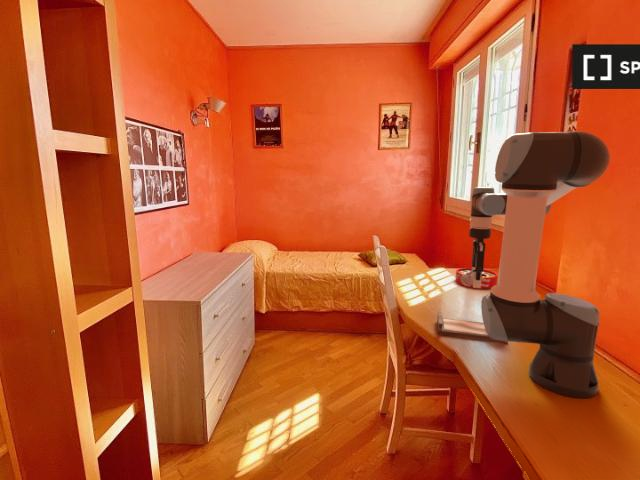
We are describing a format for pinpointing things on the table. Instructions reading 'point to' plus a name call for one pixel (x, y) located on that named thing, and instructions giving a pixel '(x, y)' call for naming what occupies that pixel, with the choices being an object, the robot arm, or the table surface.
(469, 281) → the soldier figure
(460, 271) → the toy clock
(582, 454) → the table surface
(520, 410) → the table surface
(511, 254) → the robot arm
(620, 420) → the table surface
